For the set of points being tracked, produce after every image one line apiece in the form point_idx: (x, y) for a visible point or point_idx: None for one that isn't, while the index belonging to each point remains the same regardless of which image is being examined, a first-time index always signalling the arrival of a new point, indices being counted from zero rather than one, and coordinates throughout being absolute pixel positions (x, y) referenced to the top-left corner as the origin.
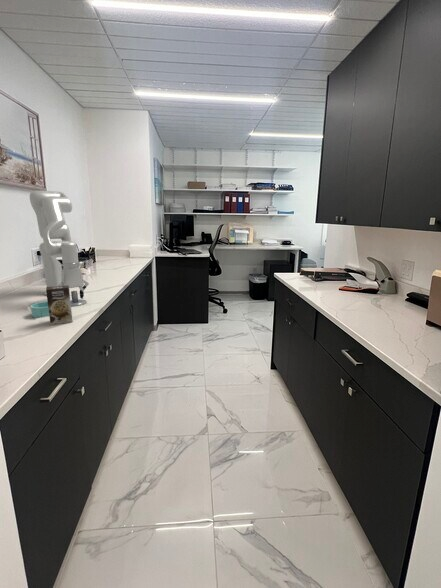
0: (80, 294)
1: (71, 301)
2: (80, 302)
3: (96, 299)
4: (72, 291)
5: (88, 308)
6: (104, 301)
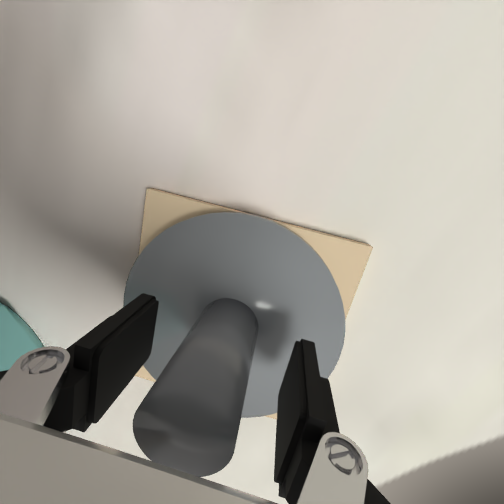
0: (286, 406)
1: (214, 268)
2: (257, 373)
3: (496, 308)
4: (160, 420)
5: (247, 476)
6: (475, 432)
